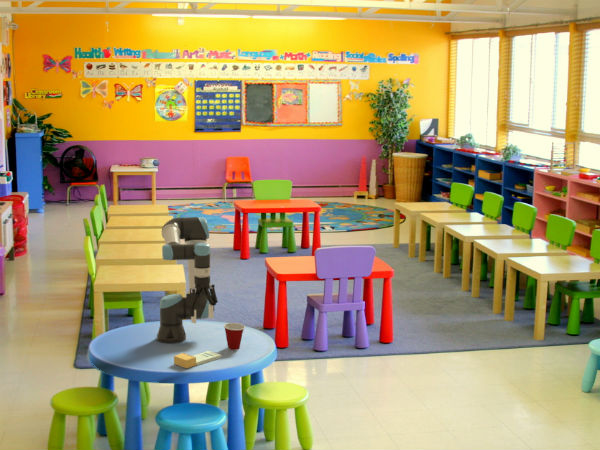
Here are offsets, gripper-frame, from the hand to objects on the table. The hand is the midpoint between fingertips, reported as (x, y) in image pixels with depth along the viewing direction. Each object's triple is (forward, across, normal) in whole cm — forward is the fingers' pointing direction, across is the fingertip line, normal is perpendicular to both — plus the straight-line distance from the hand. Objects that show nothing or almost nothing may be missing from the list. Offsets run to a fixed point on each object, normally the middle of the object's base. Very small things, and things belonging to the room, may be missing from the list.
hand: (202, 320), depth 392 cm
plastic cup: (+20, +23, +1) cm, 30 cm away
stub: (+20, -11, 0) cm, 23 cm away
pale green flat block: (+20, 0, 0) cm, 20 cm away
